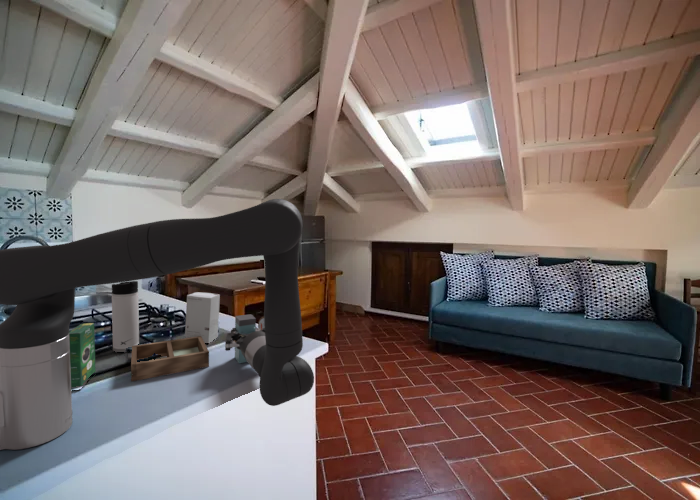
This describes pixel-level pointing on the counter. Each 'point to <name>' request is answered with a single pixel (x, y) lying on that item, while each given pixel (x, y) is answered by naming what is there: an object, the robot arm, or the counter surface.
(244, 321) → the teal square bottle
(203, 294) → the skincare box
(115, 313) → the travel mug
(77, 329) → the coffee box
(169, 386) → the counter surface
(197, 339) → the caddy
